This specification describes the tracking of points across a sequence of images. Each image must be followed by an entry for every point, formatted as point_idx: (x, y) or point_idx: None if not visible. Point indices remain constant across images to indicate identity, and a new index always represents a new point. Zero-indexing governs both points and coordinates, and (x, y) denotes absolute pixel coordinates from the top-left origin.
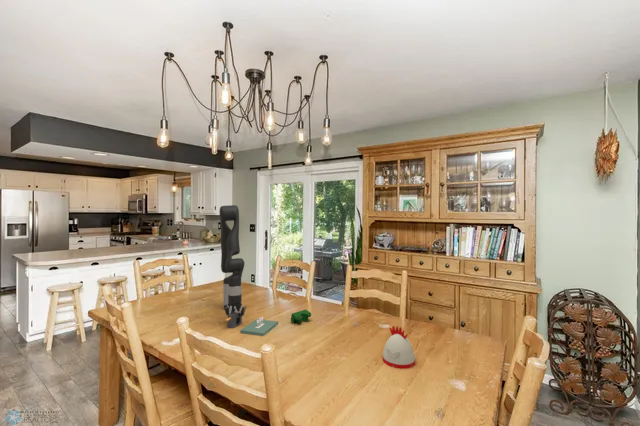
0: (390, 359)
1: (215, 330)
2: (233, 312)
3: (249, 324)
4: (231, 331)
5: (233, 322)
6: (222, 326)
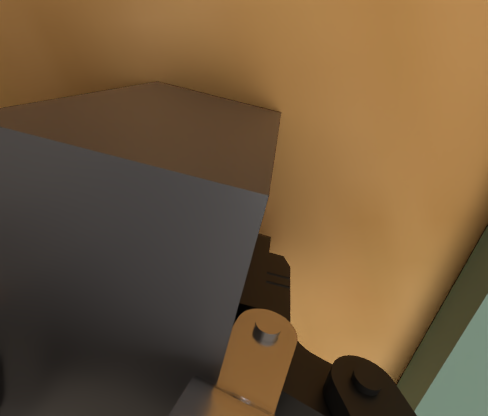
0: None
1: None
2: (17, 362)
3: (483, 329)
4: None
5: None
6: None
